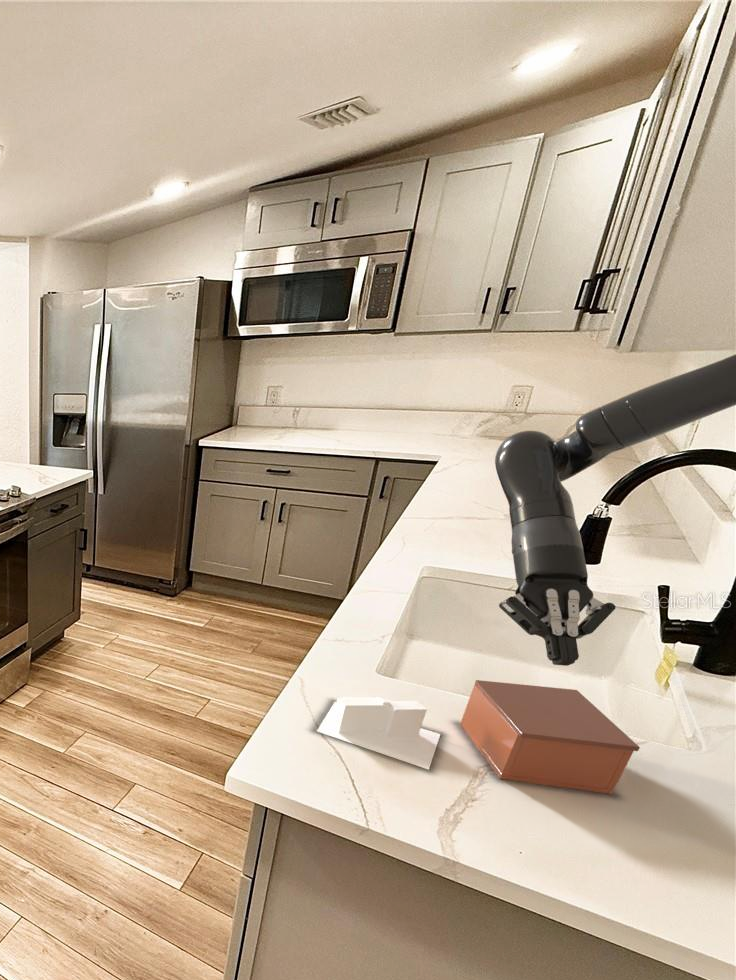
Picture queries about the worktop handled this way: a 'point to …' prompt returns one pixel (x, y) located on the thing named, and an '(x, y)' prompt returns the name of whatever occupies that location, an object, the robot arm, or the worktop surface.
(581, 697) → the lid
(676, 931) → the worktop surface
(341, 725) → the napkin holder
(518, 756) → the reddish brown box
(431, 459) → the worktop surface
